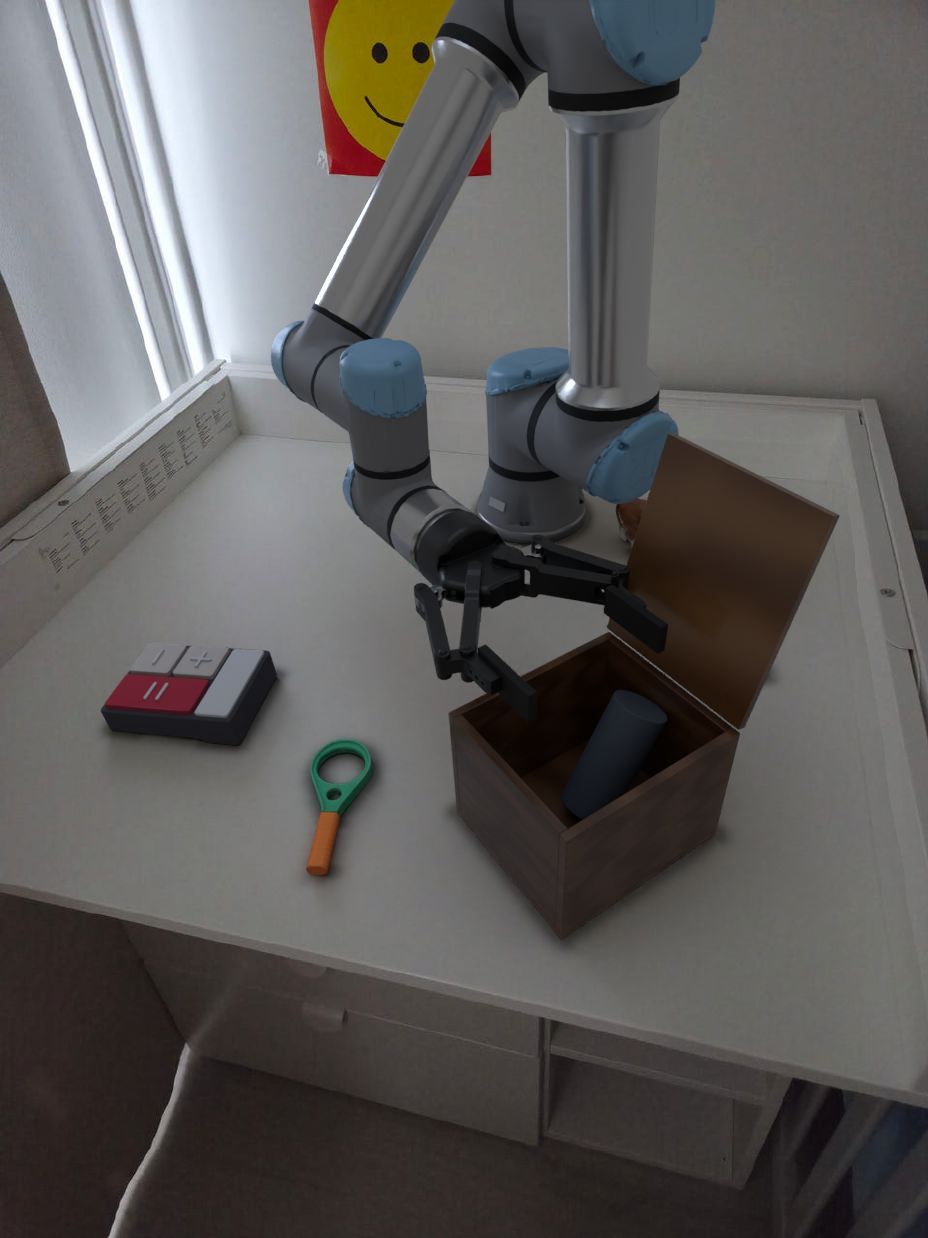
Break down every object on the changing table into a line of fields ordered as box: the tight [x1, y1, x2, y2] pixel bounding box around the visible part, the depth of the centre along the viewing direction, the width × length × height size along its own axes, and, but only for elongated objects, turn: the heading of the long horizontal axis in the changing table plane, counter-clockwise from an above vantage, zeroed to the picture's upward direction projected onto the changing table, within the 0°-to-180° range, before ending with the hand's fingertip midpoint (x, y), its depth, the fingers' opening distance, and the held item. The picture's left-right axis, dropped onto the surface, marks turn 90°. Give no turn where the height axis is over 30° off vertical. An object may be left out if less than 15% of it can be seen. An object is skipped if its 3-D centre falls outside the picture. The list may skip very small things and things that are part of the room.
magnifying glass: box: [305, 738, 374, 876], centre depth 76 cm, size 15×6×2 cm, turn 176°
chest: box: [448, 631, 741, 940], centre depth 70 cm, size 18×16×13 cm
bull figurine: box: [615, 498, 647, 550], centre depth 104 cm, size 4×13×8 cm, turn 58°
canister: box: [561, 690, 667, 820], centre depth 71 cm, size 5×5×11 cm
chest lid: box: [606, 433, 841, 731], centre depth 64 cm, size 18×16×1 cm
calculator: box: [100, 642, 278, 746], centre depth 88 cm, size 11×4×15 cm
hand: (600, 672), depth 61 cm, fingers open, 12 cm apart
